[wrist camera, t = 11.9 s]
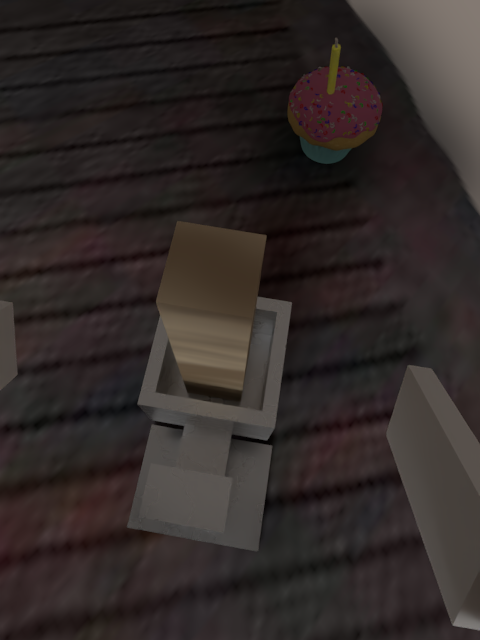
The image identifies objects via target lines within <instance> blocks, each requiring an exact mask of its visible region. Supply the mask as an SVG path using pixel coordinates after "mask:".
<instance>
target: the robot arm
mask: <svg viewBox="0 0 480 640" xmlns="http://www.w3.org/2000/svg"><path fill="white" fill-rule="evenodd" d="M15 376H17V360H16V345H15V330H14V315H13V303H12V302H6V301H0V390H1V389H2V388H3V387H5V386H6V385H7V384H8V383H9V382H10V381H11V380H12V379H13V378H14V377H15ZM386 436H387V439H388V441H389V444H390V447H391V450H392V453H393V456H394V459H395V462H396V464H397V467H398V470H399V473H400V476H401V479H402V482H403V485H404V488H405V490H406V493H407V496H408V499H409V502H410V505H411V508H412V511H413V513H414V516H415V519H416V522H417V525H418V528H419V531H420V534H421V536H422V539H423V542H424V545H425V548H426V551H427V554H428V557H429V559H430V562H431V565H432V568H433V571H434V574H435V577H436V580H437V582H438V585H439V588H440V591H441V594H442V597H443V600H444V603H445V605H446V608H447V611H448V614H449V617H450V620H451V623H452V625H453V626H459V627H464V628H470V629H476V630H480V444H479V442H478V441H477V439H476V438H475V436H474V434H473V433H472V431H471V430H470V428H469V427H468V425H467V423H466V422H465V420H464V419H463V417H462V416H461V414H460V412H459V411H458V409H457V408H456V406H455V405H454V403H453V401H452V400H451V398H450V397H449V395H448V394H447V392H446V391H445V389H444V387H443V386H442V384H441V383H440V381H439V380H438V378H437V376H436V375H435V373H434V372H433V370H432V369H431V368H424V367H418V366H411V365H408V366H407V370H406V373H405V376H404V379H403V382H402V385H401V389H400V392H399V395H398V398H397V401H396V404H395V407H394V411H393V414H392V417H391V420H390V423H389V426H388V430H387V433H386Z"/></svg>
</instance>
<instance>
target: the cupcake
mask: <svg viewBox="0 0 480 640" xmlns="http://www.w3.org/2000/svg"><path fill="white" fill-rule="evenodd" d="M340 49H341V46H340V45H339V44H338V39H337V38H335V44H334V45H333V46H332V52H331V60H330V67H322V68H321V67H318V69H315V70H314V71H313V72H309V73H308V74H307V75H305V74H304V76H303V77H302V78H301V79H299V80H298V82H297V83H296V85H295V86H294V88H293V89H292V91H291V92H290V95H289V103H288V111H287V114H288V120H289V123H290V124H291V126H292V128H293V131H294V132H295V133H296V134H297V135H298V136H300V142H301V147H302V150H303V152H304V153H305V154H306V156H308V157H309V158H310V159H312V160H313V161H316V162H319V163H324V164H330V163H335V162H338V161H340V160H342V159H343V158H344V157H345V156H346V155H347V154H348V152H349V151H350V150H351V149H352V148H354V147H357V146H359V145H361V144H362V143H364V142H365V141H366V140H367V139H368V138H370V137H372V136H373V135H374V134H375V132H376V130H377V127H378V124H379V122H380V119H381V114H382V107H383V104H382V102H381V99H380V93H379V94H378V92H377V90H376V87H375V86H373V83H372V82H370V81H369V79H368V78H367V77H366V76H365V75H364V74H363V73H361V74H360V73H358V72H357V70H352V69H350V67H347V68H345V67H343V66H342V67H340V66H338V63H339V56H340ZM319 68H320V69H319ZM362 74H363V75H362Z"/></svg>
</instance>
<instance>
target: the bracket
mask: <svg viewBox="0 0 480 640" xmlns="http://www.w3.org/2000/svg"><path fill="white" fill-rule="evenodd" d="M291 306H292V302H287V301H281V300H275V299H269V298H263V297H257V304H256V311H255V317H254V324H253V331H252V338H251V344H250V351H249V357H248V363H247V369H246V374H245V380H244V386H243V392H242V398H241V402H239V401H233V400H228V399H222V398H216V397H210V396H205V395H199V394H193V393H188V392H187V390H186V387H185V385H184V382H183V379H182V376H181V373H180V370H179V367H178V364H177V361H176V359H175V356H174V353H173V350H172V347H171V344H170V341H169V338H168V335H167V333H166V330H165V327H164V324H163V321H162V318H161V315H160V318H159V322H158V326H157V330H156V334H155V338H154V342H153V346H152V349H151V353H150V357H149V361H148V365H147V369H146V373H145V377H144V381H143V385H142V388H141V392H140V396H139V400H138V405H139V406H140V408H141V409H142V410H143V411H144V412H145V413H146V414H147V416H148V417H149V418H150V419H151V420H153V421H159V422H165V423H170V424H176V425H182V426H184V430H180V429H175V428H169V427H163V426H158V425H152V426H151V430H150V434H149V438H148V443H147V447H146V451H145V455H144V459H143V463H142V468H141V472H140V476H139V480H138V484H137V488H136V493H135V497H134V501H133V505H132V509H131V513H130V518H129V522H128V526H127V527H129V528H134V529H139V530H145V531H150V532H155V533H161V534H166V535H172V536H177V537H182V538H188V539H193V540H199V541H204V542H209V543H215V544H220V545H225V546H231V547H236V548H242V549H247V550H252V551H258V547H259V540H260V533H261V526H262V518H263V511H264V504H265V496H266V489H267V482H268V474H269V467H270V460H271V453H272V446H271V445H265V444H260V443H254V442H248V441H243V440H237V439H231V437H232V434H233V435H238V436H244V437H250V438H255V439H261V440H268V438H269V437H270V435H271V433H272V432H273V430H274V429H275V423H276V415H277V408H278V401H279V394H280V386H281V379H282V372H283V364H284V357H285V350H286V343H287V335H288V328H289V321H290V313H291Z"/></svg>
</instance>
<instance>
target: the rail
mask: <svg viewBox="0 0 480 640" xmlns="http://www.w3.org/2000/svg"><path fill="white" fill-rule="evenodd" d="M266 236H267V235H261V234H255V233H249V232H243V231H237V230H230V229H224V228H218V227H212V226H206V225H199V224H193V223H187V222H181V221H177V224H176V228H175V232H174V236H173V239H172V243H171V247H170V251H169V254H168V258H167V262H166V266H165V269H164V273H163V277H162V281H161V285H160V288H159V292H158V296H157V300H156V304H157V307H158V309H159V312H160V315H161V318H162V321H163V324H164V327H165V330H166V333H167V335H168V338H169V341H170V344H171V347H172V350H173V353H174V356H175V359H176V361H177V364H178V367H179V370H180V373H181V376H182V379H183V382H184V385H185V387H186V390H187V392H188V393H193V394H199V395H205V396H210V397H216V398H222V399H228V400H233V401H239V402H241V398H242V392H243V386H244V380H245V374H246V369H247V363H248V357H249V351H250V344H251V338H252V331H253V324H254V317H255V311H256V304H257V297H258V290H259V284H260V277H261V270H262V263H263V257H264V250H265V243H266Z"/></svg>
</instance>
